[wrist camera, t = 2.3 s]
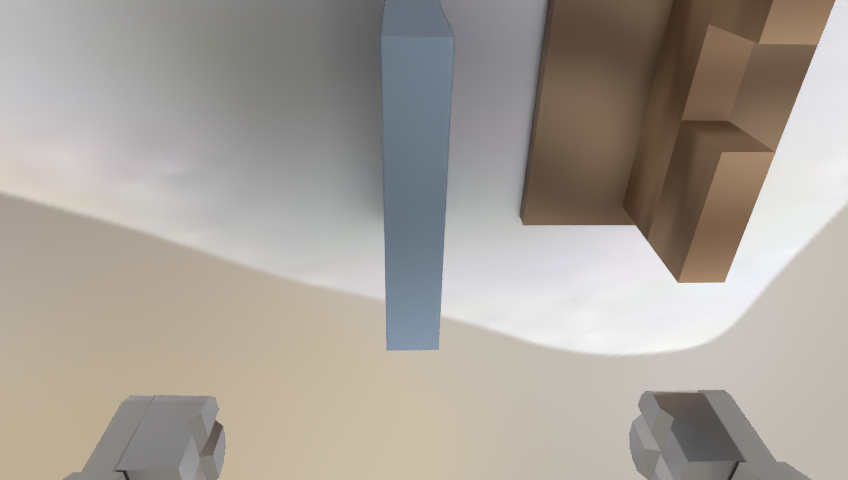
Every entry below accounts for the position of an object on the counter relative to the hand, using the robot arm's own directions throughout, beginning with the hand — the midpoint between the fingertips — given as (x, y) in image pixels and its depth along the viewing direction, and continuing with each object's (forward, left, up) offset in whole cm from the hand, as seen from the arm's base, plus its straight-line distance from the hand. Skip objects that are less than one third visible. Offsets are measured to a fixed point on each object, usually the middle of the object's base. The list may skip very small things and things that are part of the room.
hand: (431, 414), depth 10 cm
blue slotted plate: (0, 0, -16) cm, 16 cm away
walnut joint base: (-3, +11, -16) cm, 20 cm away
